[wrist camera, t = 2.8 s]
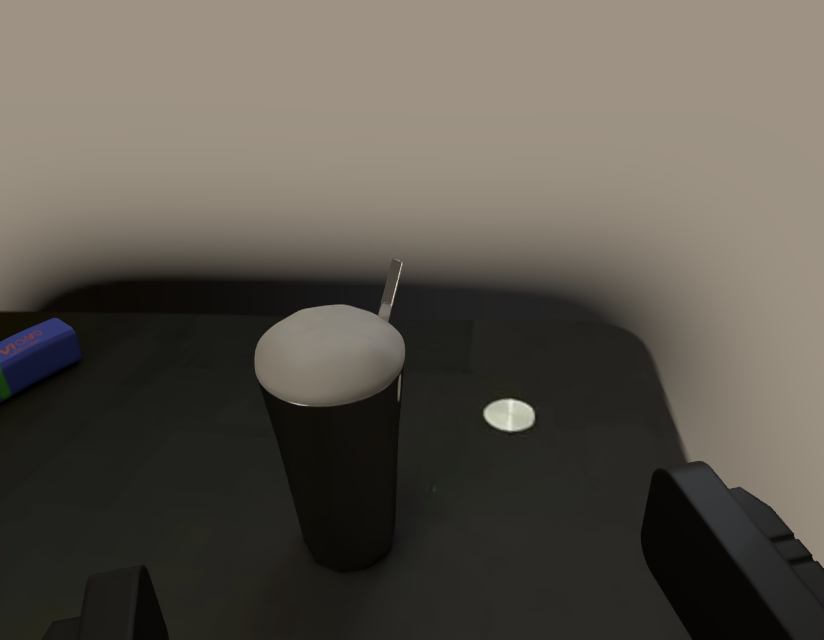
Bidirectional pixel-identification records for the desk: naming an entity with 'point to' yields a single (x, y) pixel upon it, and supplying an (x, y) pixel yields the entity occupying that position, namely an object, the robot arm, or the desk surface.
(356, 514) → the milkshake
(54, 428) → the desk surface
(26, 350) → the eraser
